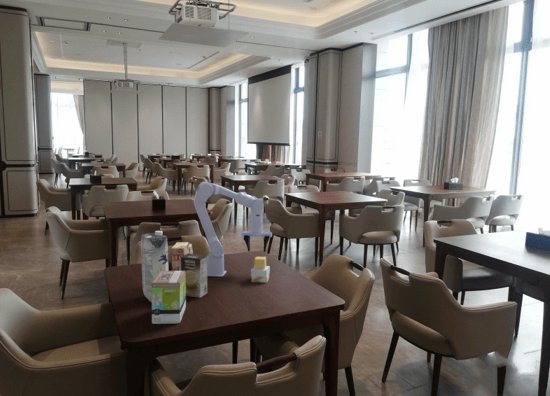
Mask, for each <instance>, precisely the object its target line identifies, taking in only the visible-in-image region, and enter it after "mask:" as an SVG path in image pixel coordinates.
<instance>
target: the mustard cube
mask: <svg viewBox="0 0 550 396" xmlns="http://www.w3.org/2000/svg"><path fill="white" fill-rule="evenodd" d="M254 266H255V269H265V268H266V266H267V256H256V257H254Z"/></svg>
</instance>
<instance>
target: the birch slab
mask: <svg viewBox="0 0 550 396" xmlns="http://www.w3.org/2000/svg"><path fill="white" fill-rule="evenodd" d="M269 279H270V273H269V274H268V276H267V277H258V276H251V283H268V282H269Z"/></svg>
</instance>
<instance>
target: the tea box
mask: <svg viewBox="0 0 550 396" xmlns="http://www.w3.org/2000/svg"><path fill="white" fill-rule="evenodd" d="M186 307H187V296H186V279H185V271H172V270H169V271H159V272H158V274H157V276H156V277H155V279H154V280H153V282H152V302H151V324H153V325H154V324H156V325H162V324H163V325H165V324H180V323H181V321H182V319H183V316H184V314H185V310H186Z"/></svg>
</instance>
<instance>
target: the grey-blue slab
mask: <svg viewBox="0 0 550 396" xmlns="http://www.w3.org/2000/svg"><path fill="white" fill-rule="evenodd" d="M270 272H271V266H270V265H266V268H265V269H255V265H254V266H253V267H252V268H251V269H250V276H251V277H252V276H258V277H267V276H268V274H269V275H270Z"/></svg>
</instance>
